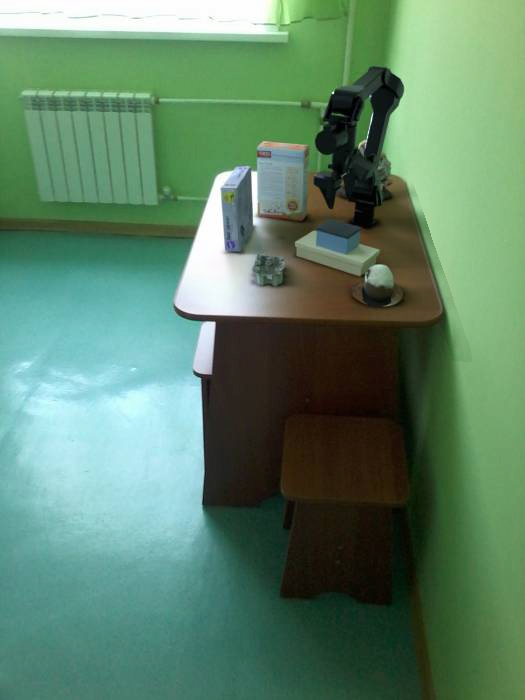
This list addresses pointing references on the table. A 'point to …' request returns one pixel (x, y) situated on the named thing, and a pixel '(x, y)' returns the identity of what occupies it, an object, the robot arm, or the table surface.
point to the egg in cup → (377, 288)
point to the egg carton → (268, 269)
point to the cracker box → (282, 180)
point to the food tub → (338, 236)
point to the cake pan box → (237, 208)
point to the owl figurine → (383, 171)
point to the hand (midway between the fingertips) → (339, 203)
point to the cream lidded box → (337, 255)
